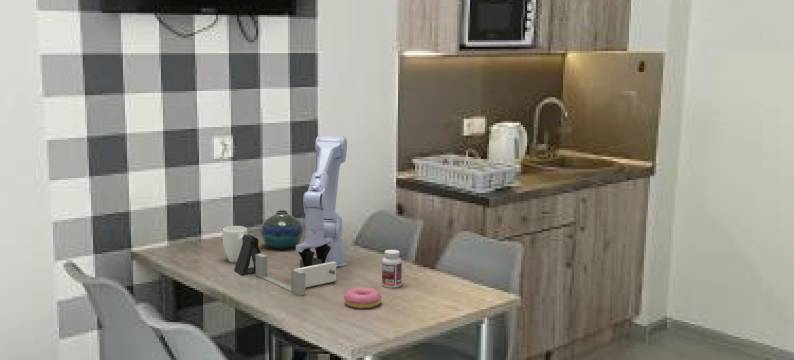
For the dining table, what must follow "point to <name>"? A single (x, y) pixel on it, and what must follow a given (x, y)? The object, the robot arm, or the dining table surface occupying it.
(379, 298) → the doughnut
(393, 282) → the pill bottle
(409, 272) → the dining table surface
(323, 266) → the door
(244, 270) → the phone stand
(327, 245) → the robot arm
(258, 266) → the grey u-shaped bar
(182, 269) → the dining table surface
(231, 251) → the mug
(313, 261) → the dark grey block
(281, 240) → the vase
